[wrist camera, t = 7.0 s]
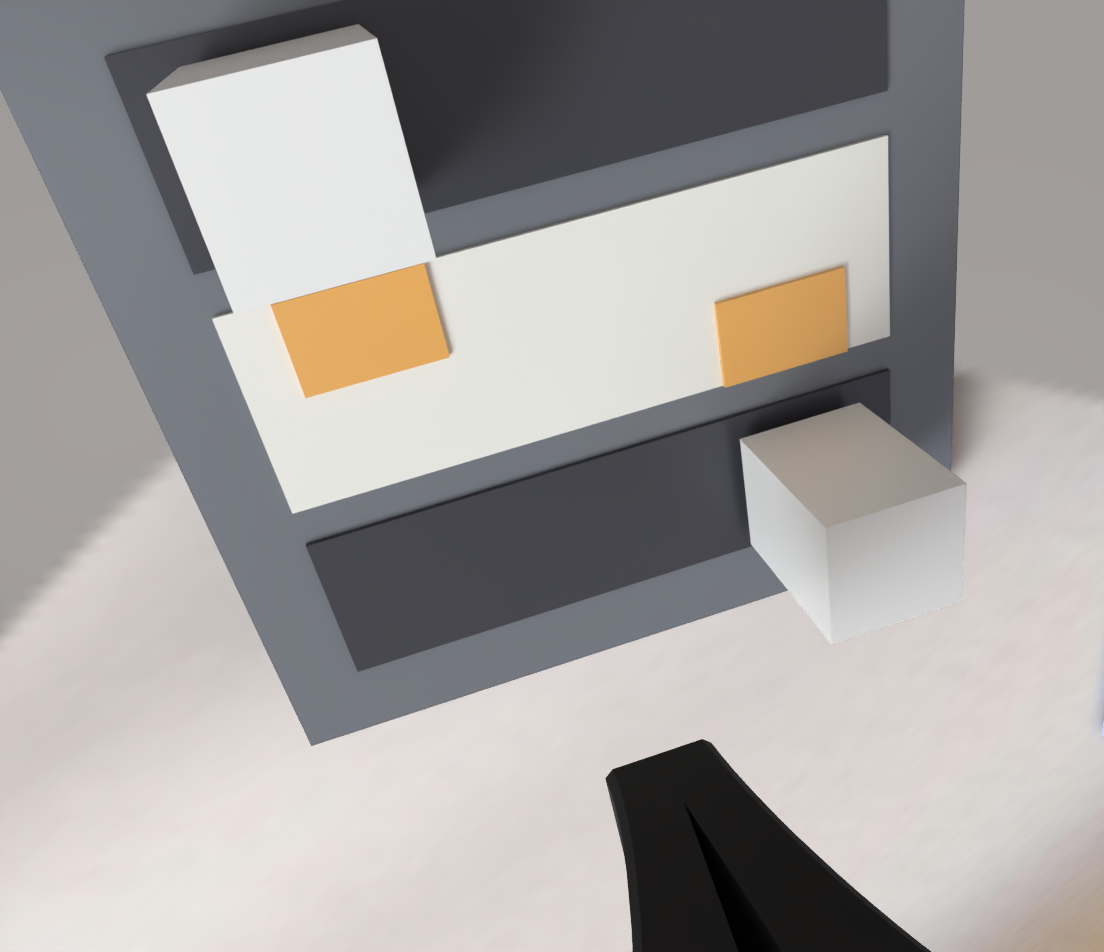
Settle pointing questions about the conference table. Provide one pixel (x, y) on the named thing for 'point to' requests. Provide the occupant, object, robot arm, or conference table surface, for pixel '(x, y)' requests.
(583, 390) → the dip bank
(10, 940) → the conference table surface
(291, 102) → the switch
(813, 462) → the switch
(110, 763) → the conference table surface
